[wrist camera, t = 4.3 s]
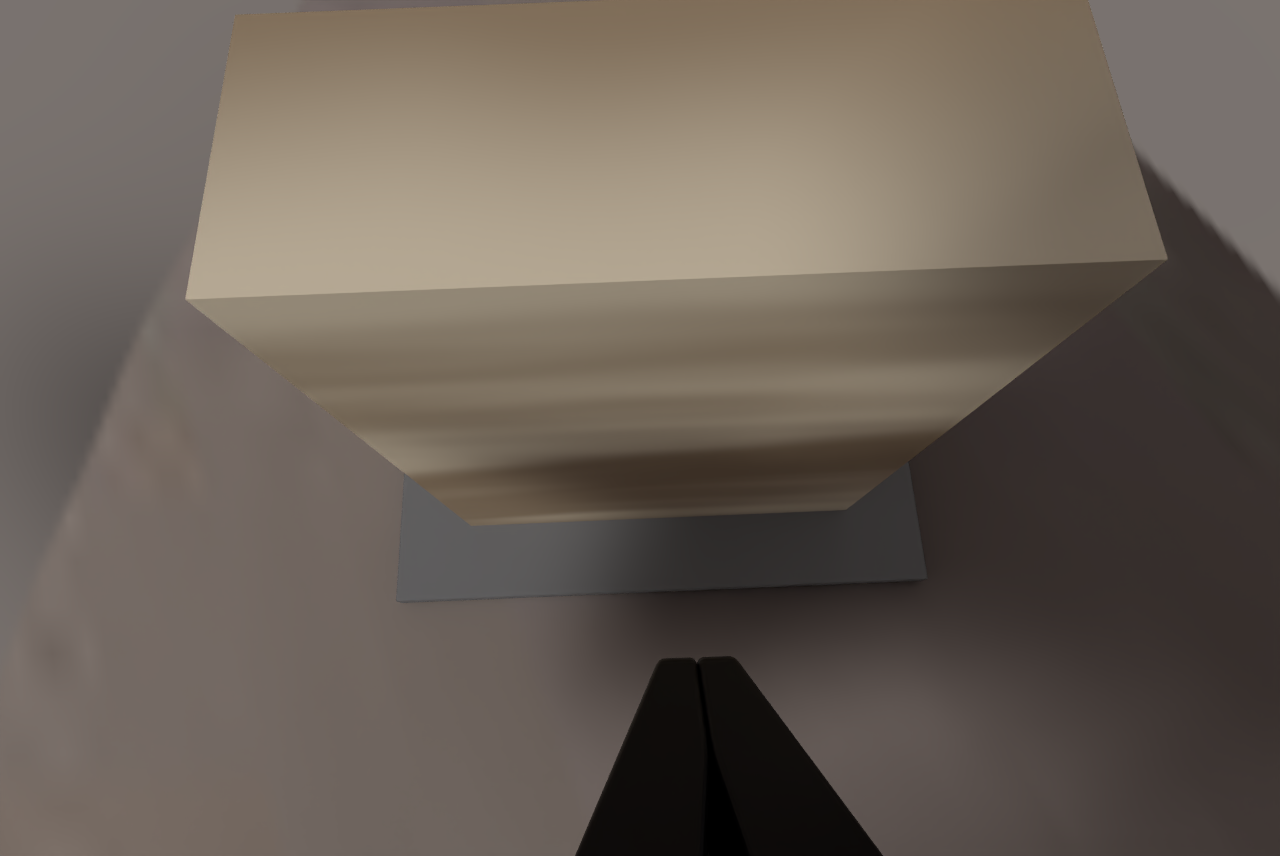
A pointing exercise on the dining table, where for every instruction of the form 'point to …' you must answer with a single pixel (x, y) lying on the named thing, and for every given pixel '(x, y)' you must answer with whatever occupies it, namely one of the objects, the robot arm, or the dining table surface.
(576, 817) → the dining table surface
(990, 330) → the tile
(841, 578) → the mat
